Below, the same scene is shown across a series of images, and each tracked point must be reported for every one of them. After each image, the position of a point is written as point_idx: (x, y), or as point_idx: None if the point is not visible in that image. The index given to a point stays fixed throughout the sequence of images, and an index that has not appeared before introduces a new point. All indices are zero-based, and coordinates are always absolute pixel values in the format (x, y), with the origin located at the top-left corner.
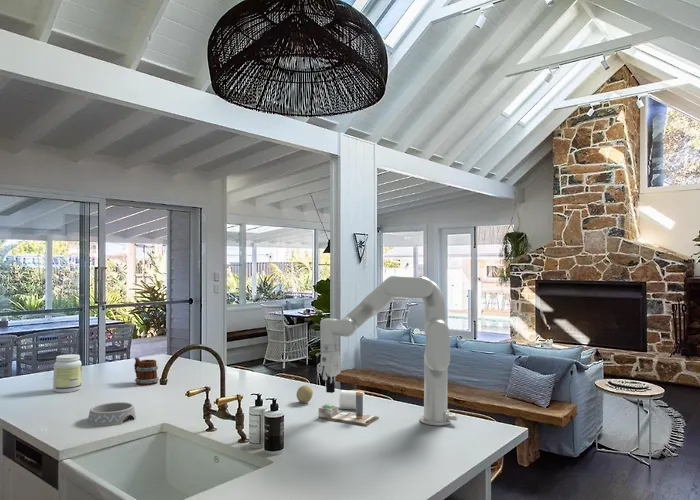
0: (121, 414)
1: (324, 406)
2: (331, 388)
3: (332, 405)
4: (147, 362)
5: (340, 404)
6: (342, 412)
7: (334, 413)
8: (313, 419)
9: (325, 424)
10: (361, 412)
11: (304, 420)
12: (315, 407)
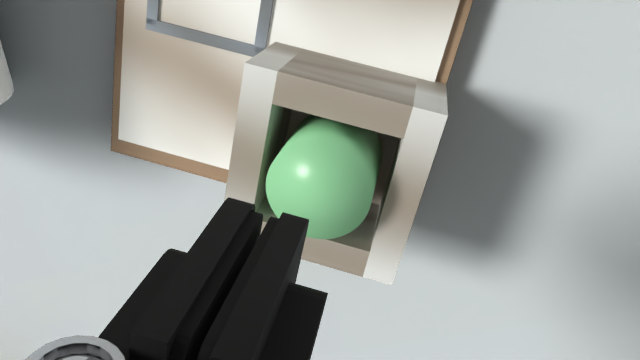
0: None
1: None
2: (283, 298)
3: (237, 145)
4: None
5: (5, 87)
6: (182, 7)
7: (359, 71)
8: (447, 257)
9: (618, 102)
10: None
11: (500, 325)
12: (77, 307)
